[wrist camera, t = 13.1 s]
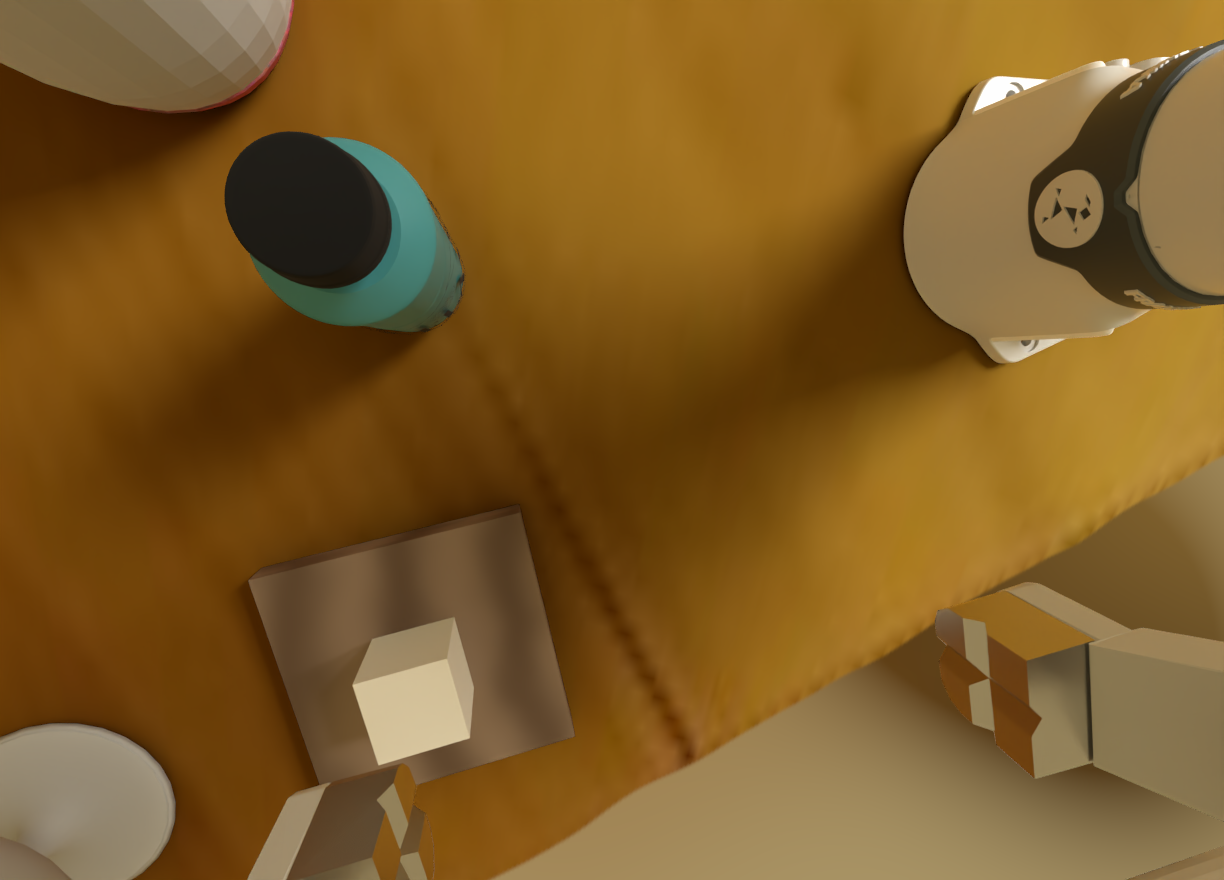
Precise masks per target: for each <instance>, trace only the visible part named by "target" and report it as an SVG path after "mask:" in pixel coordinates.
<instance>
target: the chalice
mask: <svg viewBox="0 0 1224 880" xmlns="http://www.w3.org/2000/svg"><path fill="white" fill-rule="evenodd" d="M175 804H176V802H175V798H174V794H173V790H172V786H171V783H170V781H169V779H168V777H167V776H166V774H165V772H164V771H163V769H162V767H161V766H160V764H159V763H158V762H157V761H156V760H155V759H154V758H153V757H152V756H151V755H150V754H149V753H148V752H147V751H146V750H145V749H143V748H142V747H140V746H139V745H137V744H136V743H134V742H132V741H131V740H129V739H128V738H126V737H124V736H122V735H119V734H117V733H114V732H111V731H109V730H106V729H104V728H100V727H94V726H89V725H83V724H78V723H50V724H44V725H38V726H33V727H27V728H23V729H21V730H18V731H15V732H13V733H10V734H7V735H5V736H2V737H0V880H133V879H134V878H136V877H137V876H139V875H140V874H142V873H143V872H144V871H145V870H146V869H147V868H148V867H149V866H150V865H151V864H152V863H153V862H154V861H155V860H156V859H157V858H158V857H159V856H160V854H161V853H162V851H163V849H164V848H165V846H166V844H167V843H168V841H169V839H170V836H171V833H172V829H173V826H174V823H175Z"/></svg>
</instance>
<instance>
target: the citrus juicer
mask: <svg viewBox="0 0 1224 880" xmlns="http://www.w3.org/2000/svg"><path fill="white" fill-rule="evenodd" d="M293 7H294V0H0V63H2V64H4V65H6V66H8V67H10V68H13V69H15V70H17V71H19V72H21V73H23V74H25V75H28V76H30V77H32V78H34V79H36V80H38V81H40V82H42V83H45V84H48V85H51V86H54V87H58V88H61V89H64V90H67V91H71V92H74V93H77V94H80V95H84V96H87V97H90V98H94V99H97V100H100V101H103V102H107V103H110V104H114V105H122V106H127V107H130V108H134V109H137V110H143V111H151V112H159V113H182V112H196V111H205V110H209V109H212V108H216V107H220V106H223V105H227V104H230V103H232V102H234V101H236V100H238V99H240V98H242V97H243V96H245V95H247V94H249V93H251V92H252V91H253V90H254V89H255V88H256V87H257V86H258V85H260V84H261V83H262V82H263V81H264V80H265V79H266V78H267V77H268V75H269V74H270V72H271V71H272V70H273V68H274V67H275V65H276V64H277V63H278V61H279V59H280V56H281V54H282V51H283V49H284V47H285V44H286V42H287V39H288V35H289V30H290V24H291V19H292V13H293Z"/></svg>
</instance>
